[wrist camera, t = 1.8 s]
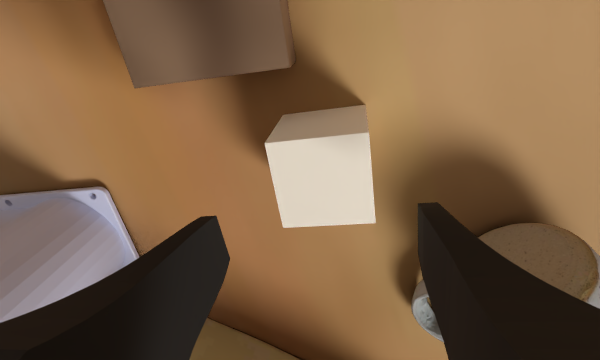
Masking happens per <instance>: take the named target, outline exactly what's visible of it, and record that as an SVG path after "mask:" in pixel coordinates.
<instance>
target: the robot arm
mask: <svg viewBox="0 0 600 360" xmlns="http://www.w3.org/2000/svg"><path fill="white" fill-rule="evenodd" d="M93 193H94V194H95V195H96V196H95V195H94V194H93ZM418 255H419V260H420V266H421V271H422V276H423V280H424V283H425V286H426V289H427V292H428V296H429V299H430V302H431V305H432V308H433V311H434V314H435V317H436V320H437V323H438V326H439V329H440V332H441V335H442V338H443V341H444V344H445V348H446V351H447V355H448V359H449V360H600V308H597V307H595V306H593V305H591V304H588V303H586V302H584V301H582V300H580V299H578V298H576V297H574V296H572V295H570V294H568V293H566V292H564V291H562V290H560V289H558V288H556V287H554V286H552V285H550V284H548V283H546V282H545V281H543V280H541V279H539V278H537V277H536V276H534V275H532V274H530V273H529V272H527V271H526V270H524V269H522V268H521V267H519V266H517V265H516V264H514V263H513V262H511V261H509V260H508V259H506V258H505V257H503V256H502V255H500V254H499V253H498V252H496V251H495V250H494V249H492V248H491V247H489V246H488V245H487V244H485V243H484V242H483V241H481V240H480V239H479V238H478V237H476V236H475V235H474V234H473V233H471V232H470V231H469V230H468V229H467V228H465V227H464V226H463V225H462V224H461V223H460V222H459V221H457V220H456V219H455V218H454V217H453V216H452V215H451V214H450V213H449V212H448V211H446V210H445V209H444V208H443V207H442V206H441V205H440V204H439V203H437V202H435V203H418ZM229 261H230V257H229V254H228V251H227V248H226V244H225V241H224V238H223V235H222V232H221V229H220V226H219V223H218V220H217V217H216V216H204V217H200V218H198V219H196V220H195V221H193V222H191V223H190V224H188V225H187V226H185V227H184V228H182V229H181V230H179V231H178V232H176V233H175V234H174V235H172V236H171V237H169V238H168V239H166V240H165V241H163V242H162V243H160V244H159V245H158V246H156V247H155V248H153V249H152V250H150V251H148V252H147V253H145V254H144V255H142V256H141V257H139V255H138V253H137V251H136V249H135V247H134V244H133V242H132V240H131V238H130V236H129V234H128V232H127V230H126V228H125V225H124V223H123V221H122V219H121V217H120V215H119V213H118V211H117V208H116V206H115V204H114V202H113V200H112V198H111V196H110V194H109V192H108V190H107V189H105V188H104V187H89V188H78V189H66V190H55V191H43V192H32V193H21V194H9V195H0V360H190V357H191V354H192V351H193V348H194V346H195V343H196V341H197V339H198V336H199V334H200V332H201V330H202V328H203V325H204V323H205V321H206V319H207V317H208V315H209V313H210V310H211V308H212V306H213V304H214V302H215V300H216V297H217V295H218V293H219V291H220V289H221V286H222V284H223V281H224V278H225V275H226V272H227V268H228V264H229Z"/></svg>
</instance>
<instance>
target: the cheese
mask: <svg viewBox="0 0 600 360" xmlns="http://www.w3.org/2000/svg"><path fill="white" fill-rule="evenodd" d="M190 360H301V359H298V358H296V357H294V356H292V355H290V354H288V353H286V352H284V351H282V350H280V349H278V348H276V347H274V346H271V345H269V344H267V343H265V342H263V341H261V340H258V339H256V338H254V337H251V336H249V335H247V334H244V333H242V332H240V331H237V330H235V329H232V328H230V327H228V326H225V325H223V324H220V323H218V322H216V321H213V320H211V319H208V318H207V319H206V321H205V323H204V325H203V328H202V330H201V332H200V334H199V336H198V339H197V341H196V343H195V346H194V348H193V351H192V354H191V357H190Z"/></svg>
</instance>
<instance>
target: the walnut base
mask: <svg viewBox="0 0 600 360" xmlns="http://www.w3.org/2000/svg"><path fill="white" fill-rule="evenodd" d="M103 2H104V5H105V8H106V11H107V13H108V16H109V19H110V22H111V24H112V27H113V30H114V33H115V35H116V38H117V41H118V44H119V46H120V49H121V52H122V55H123V57H124V60H125V63H126V66H127V69H128V71H129V74H130V77H131V80H132V82H133V85H134V88H141V87H149V86H156V85H164V84H171V83H178V82H186V81H193V80H201V79H208V78H216V77H223V76H231V75H238V74H245V73H253V72H260V71H268V70H275V69H283V68H290V67H291V66H292V65H293V64H294V63H295V62H296V57H295V50H294V43H293V36H292V30H291V23H290V16H289V9H288V2H287V0H103Z"/></svg>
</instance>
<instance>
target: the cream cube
mask: <svg viewBox="0 0 600 360" xmlns="http://www.w3.org/2000/svg"><path fill="white" fill-rule="evenodd" d="M265 148H266V152H267V157H268V162H269V166H270V171H271V175H272V180H273V184H274V189H275V193H276V198H277V202H278V207H279V211H280V216H281V220H282V225H283V228H289V227H308V226H328V225H347V224H366V223H376V222H375V209H374V195H373V181H372V168H371V154H370V140H369V129H368V121H367V113H366V105H359V106H350V107H342V108H334V109H326V110H318V111H309V112H301V113H293V114H285V115H283V116H282V117H281V119H280V120H279V122H278V123H277V125H276V126H275V128H274V130H273V131H272V133H271V134H270V136H269V137H268V139H267V140H266V142H265Z"/></svg>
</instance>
